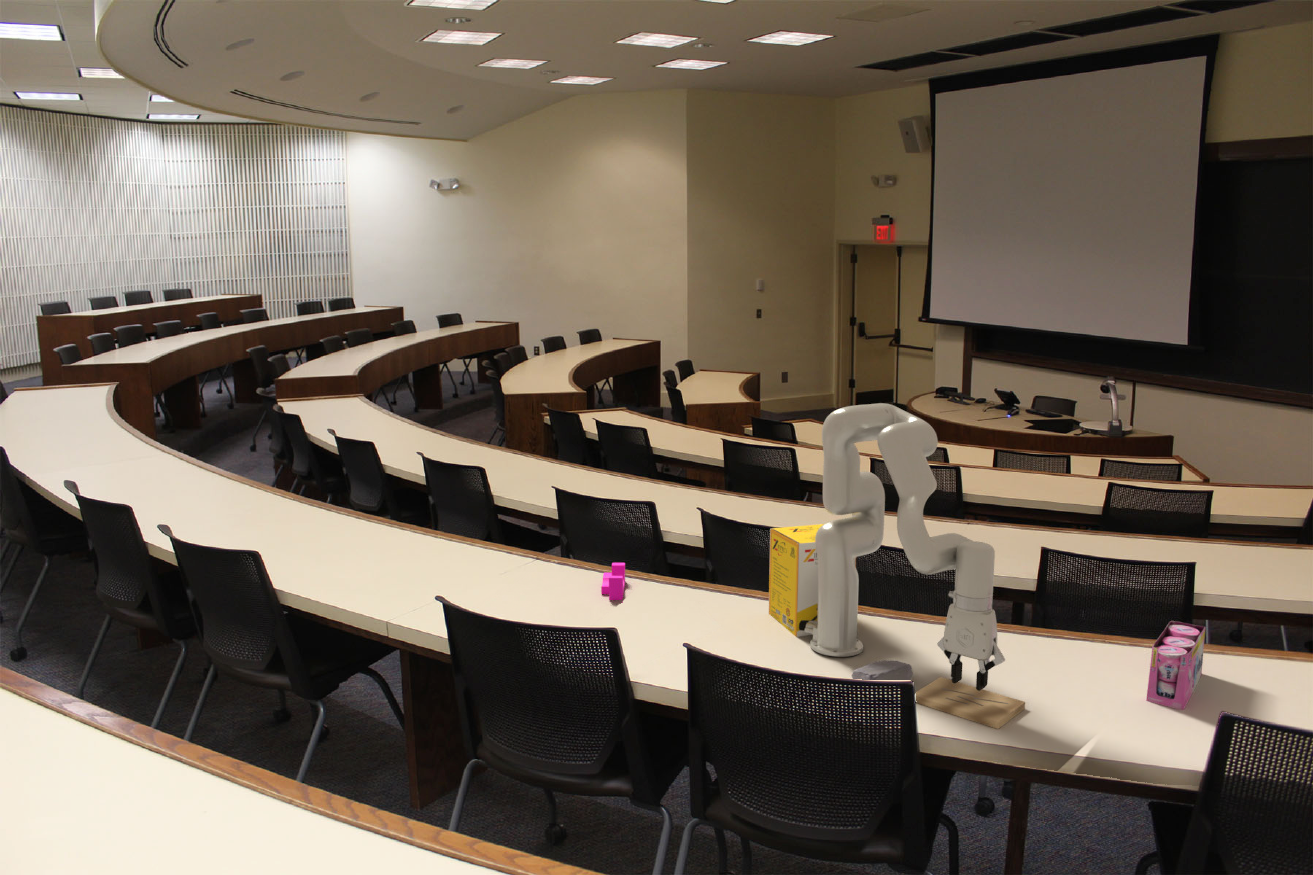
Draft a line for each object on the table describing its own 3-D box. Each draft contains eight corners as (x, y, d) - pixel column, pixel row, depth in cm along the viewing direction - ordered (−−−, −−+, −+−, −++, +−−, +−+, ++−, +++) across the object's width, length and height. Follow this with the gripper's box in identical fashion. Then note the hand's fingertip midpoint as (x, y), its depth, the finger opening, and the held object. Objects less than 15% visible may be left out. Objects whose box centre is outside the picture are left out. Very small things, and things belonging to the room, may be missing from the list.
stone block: (886, 650, 220) (916, 665, 211) (886, 670, 221) (915, 686, 212) (844, 659, 215) (873, 675, 206) (844, 679, 215) (872, 696, 207)
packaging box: (823, 613, 260) (825, 523, 256) (853, 633, 244) (856, 538, 241) (768, 620, 255) (770, 528, 251) (796, 641, 239) (798, 543, 236)
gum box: (1183, 714, 198) (1188, 656, 196) (1143, 705, 203) (1148, 648, 201) (1201, 680, 216) (1206, 626, 214) (1165, 672, 220) (1169, 619, 218)
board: (911, 701, 204) (911, 694, 204) (940, 683, 214) (940, 676, 213) (998, 728, 191) (998, 721, 191) (1024, 708, 201) (1025, 701, 201)
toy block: (604, 587, 283) (603, 562, 282) (625, 587, 283) (625, 562, 282) (600, 603, 268) (599, 577, 267) (622, 603, 268) (622, 577, 267)
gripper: (926, 596, 202) (923, 679, 205) (1005, 615, 191) (1000, 702, 193) (943, 588, 208) (939, 669, 210) (1020, 606, 196) (1015, 691, 199)
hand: (968, 684), depth 202 cm, fingers open, 4 cm apart
